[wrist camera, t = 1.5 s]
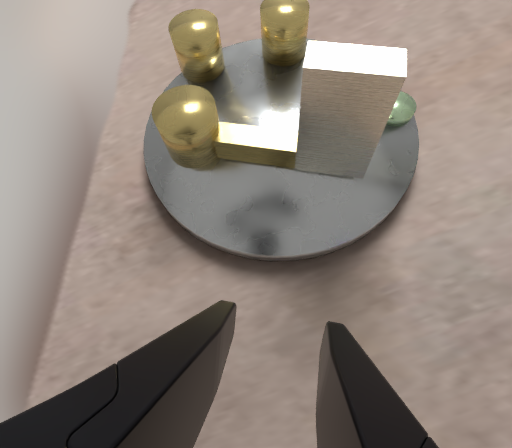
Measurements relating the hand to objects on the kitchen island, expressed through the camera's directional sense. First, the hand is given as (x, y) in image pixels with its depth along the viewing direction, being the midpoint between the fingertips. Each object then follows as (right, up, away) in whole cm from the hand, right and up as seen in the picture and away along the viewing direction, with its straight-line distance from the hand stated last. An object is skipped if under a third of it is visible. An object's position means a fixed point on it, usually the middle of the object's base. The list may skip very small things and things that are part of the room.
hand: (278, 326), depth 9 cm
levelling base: (+1, +10, +20) cm, 22 cm away
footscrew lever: (0, +8, +17) cm, 19 cm away
